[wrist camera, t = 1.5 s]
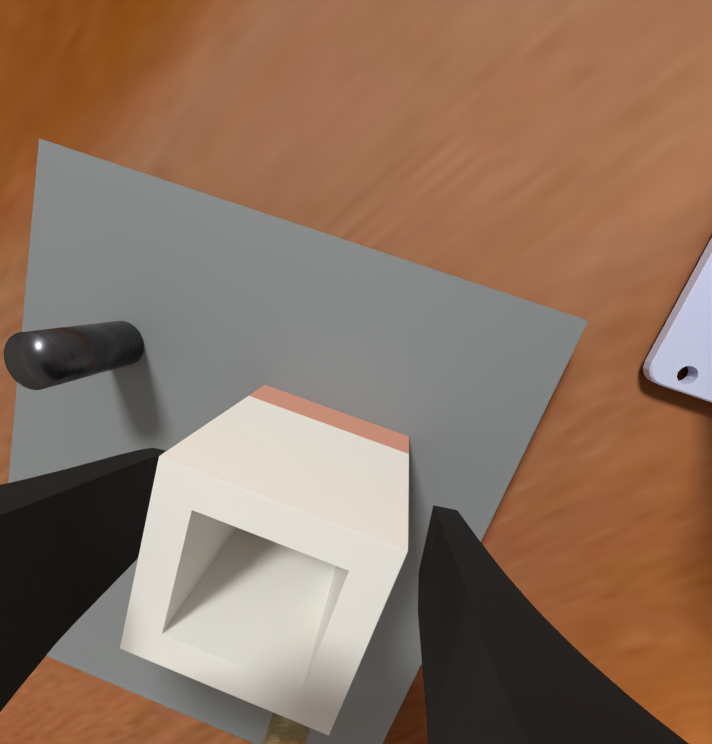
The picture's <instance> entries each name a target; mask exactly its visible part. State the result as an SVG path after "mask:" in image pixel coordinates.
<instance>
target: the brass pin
mask: <svg viewBox="0 0 712 744" xmlns="http://www.w3.org/2000/svg"><path fill="white" fill-rule="evenodd" d="M309 730H310V728H309V727H307V726H305V725H302V724H300V723H297V722H295V721H293V720H290V719H288V718H285V717H283V716H281V715H278V714H276V713H273V714H272V717H271V721H270V724H269V727H268V730H267V733H266V736H265V739H264V742H263V744H306V743H307V739H308V735H309Z"/></svg>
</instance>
